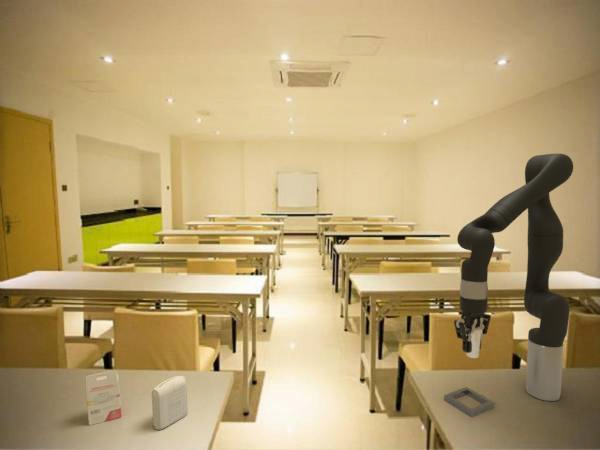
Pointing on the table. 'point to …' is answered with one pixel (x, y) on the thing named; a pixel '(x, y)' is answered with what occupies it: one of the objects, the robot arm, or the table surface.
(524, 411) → the table surface
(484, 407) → the grey square frame
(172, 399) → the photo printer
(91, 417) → the ink cartridge box
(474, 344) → the milkshake
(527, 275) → the robot arm
